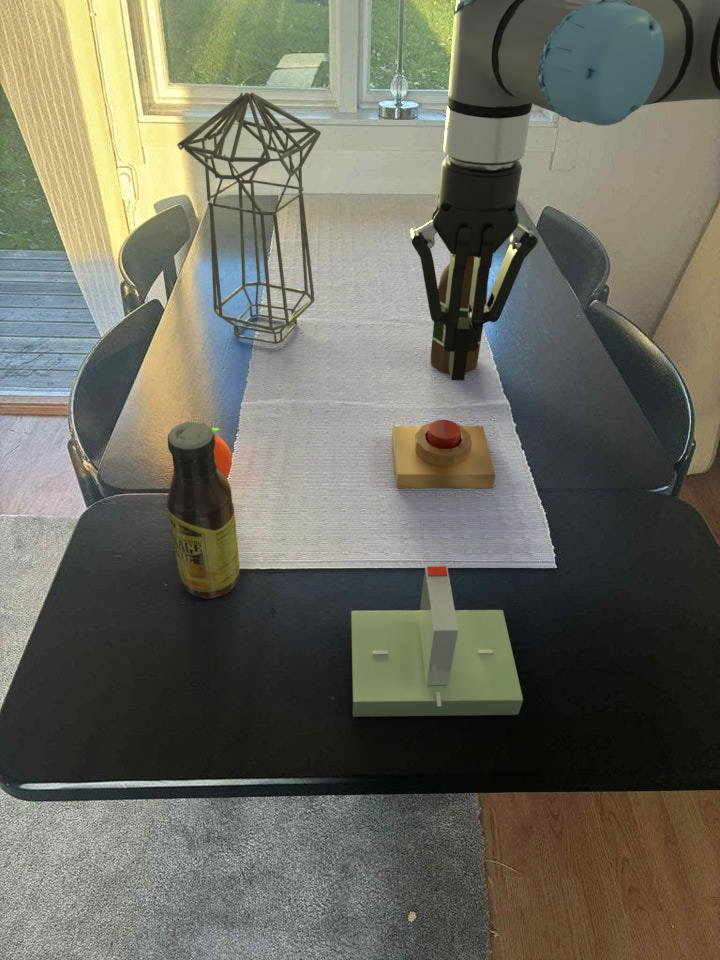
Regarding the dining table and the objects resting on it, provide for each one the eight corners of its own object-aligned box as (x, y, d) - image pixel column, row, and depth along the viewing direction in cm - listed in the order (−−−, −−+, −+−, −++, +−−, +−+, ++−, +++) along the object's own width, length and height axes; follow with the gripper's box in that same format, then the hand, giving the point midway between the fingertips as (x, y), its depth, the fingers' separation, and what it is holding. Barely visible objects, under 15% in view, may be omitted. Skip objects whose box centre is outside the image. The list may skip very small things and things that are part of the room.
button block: (480, 438, 94) (484, 414, 92) (493, 487, 87) (498, 463, 84) (391, 438, 94) (393, 414, 91) (396, 488, 86) (398, 463, 84)
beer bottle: (465, 381, 105) (488, 221, 89) (419, 365, 108) (433, 208, 92) (486, 358, 110) (511, 203, 94) (442, 344, 113) (459, 192, 97)
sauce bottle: (171, 576, 75) (136, 426, 62) (221, 549, 78) (199, 401, 65) (202, 614, 71) (172, 463, 58) (254, 585, 74) (237, 435, 61)
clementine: (206, 453, 90) (199, 408, 86) (250, 470, 88) (245, 425, 83) (165, 489, 85) (155, 442, 80) (211, 508, 83) (203, 461, 78)
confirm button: (456, 430, 89) (458, 419, 88) (461, 450, 86) (462, 438, 85) (425, 430, 89) (426, 419, 88) (428, 450, 86) (430, 438, 85)
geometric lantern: (328, 319, 118) (326, 87, 95) (287, 364, 107) (274, 114, 84) (245, 301, 123) (224, 75, 100) (198, 343, 111) (162, 99, 88)
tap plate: (498, 620, 71) (502, 603, 69) (519, 721, 63) (525, 705, 61) (350, 621, 71) (351, 604, 69) (352, 723, 62) (353, 707, 60)
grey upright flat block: (448, 685, 62) (458, 628, 57) (426, 685, 62) (434, 628, 57) (438, 621, 68) (447, 564, 62) (418, 622, 68) (425, 564, 62)
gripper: (542, 147, 69) (506, 357, 84) (410, 146, 68) (397, 357, 84) (561, 171, 63) (518, 391, 78) (417, 169, 63) (402, 392, 78)
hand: (456, 373), depth 81 cm, fingers closed
